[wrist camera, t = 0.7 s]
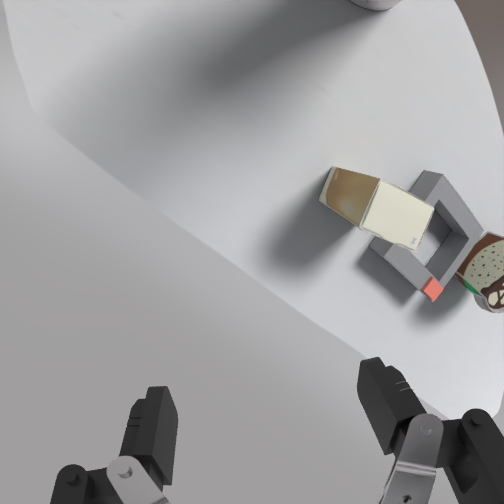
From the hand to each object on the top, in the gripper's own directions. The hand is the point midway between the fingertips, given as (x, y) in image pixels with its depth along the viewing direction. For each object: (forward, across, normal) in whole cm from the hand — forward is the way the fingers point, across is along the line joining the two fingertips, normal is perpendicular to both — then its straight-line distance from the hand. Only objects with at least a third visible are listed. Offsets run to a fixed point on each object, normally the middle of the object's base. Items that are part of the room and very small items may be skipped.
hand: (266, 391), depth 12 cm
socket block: (+24, -23, +3) cm, 34 cm away
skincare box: (+25, -12, -2) cm, 28 cm away
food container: (+25, -34, +9) cm, 43 cm away
